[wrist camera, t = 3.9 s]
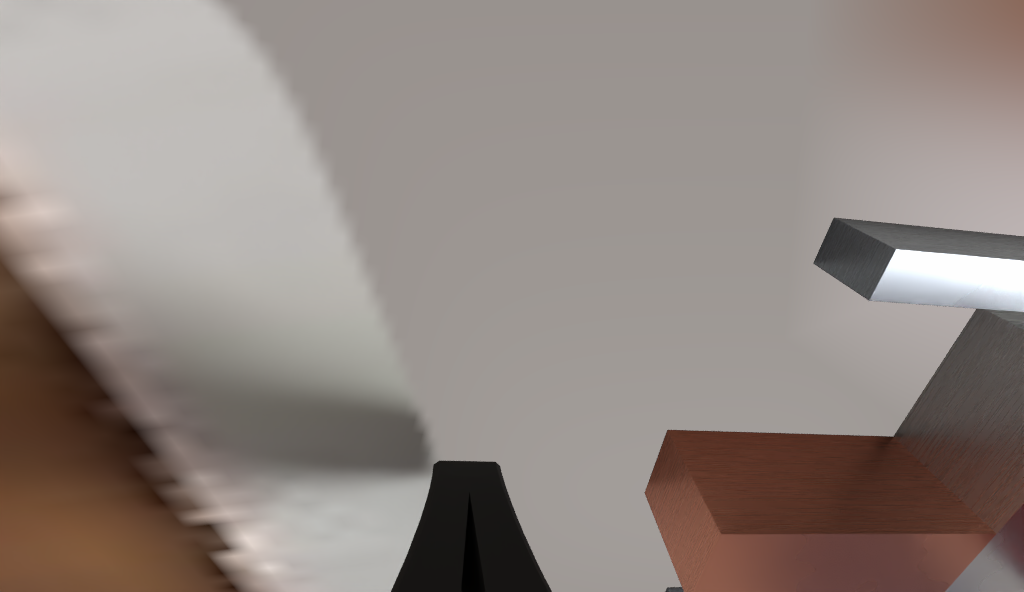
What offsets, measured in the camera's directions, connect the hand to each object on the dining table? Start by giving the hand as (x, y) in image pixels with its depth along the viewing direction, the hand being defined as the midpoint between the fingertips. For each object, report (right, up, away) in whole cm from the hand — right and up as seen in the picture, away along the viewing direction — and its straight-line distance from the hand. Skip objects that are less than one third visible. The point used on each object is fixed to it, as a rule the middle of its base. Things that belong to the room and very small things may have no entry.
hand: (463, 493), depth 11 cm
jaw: (+9, 0, +2) cm, 9 cm away
